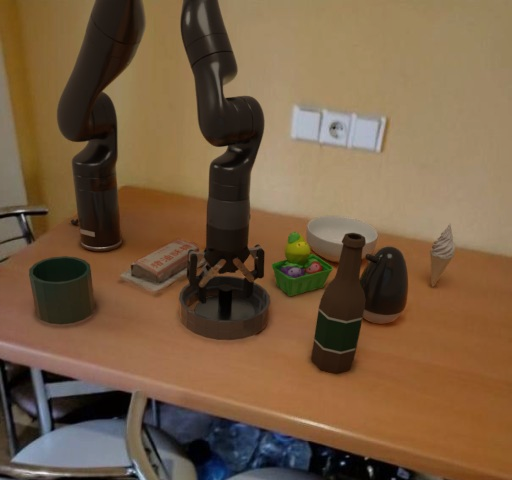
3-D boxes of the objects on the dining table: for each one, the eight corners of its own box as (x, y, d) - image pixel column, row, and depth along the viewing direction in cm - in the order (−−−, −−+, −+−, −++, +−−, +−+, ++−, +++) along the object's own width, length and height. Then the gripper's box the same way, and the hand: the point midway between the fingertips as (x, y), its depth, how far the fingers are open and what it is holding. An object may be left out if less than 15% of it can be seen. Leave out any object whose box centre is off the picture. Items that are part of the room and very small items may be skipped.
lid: (188, 302, 112) (188, 275, 108) (244, 297, 115) (246, 270, 112) (202, 335, 103) (202, 306, 99) (262, 327, 106) (264, 300, 103)
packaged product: (172, 232, 128) (207, 244, 124) (172, 252, 131) (207, 264, 127) (117, 261, 115) (155, 275, 111) (119, 281, 118) (156, 296, 114)
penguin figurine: (341, 307, 115) (353, 239, 107) (384, 300, 119) (399, 233, 110) (366, 334, 107) (382, 262, 99) (412, 326, 111) (430, 256, 102)
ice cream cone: (445, 284, 127) (464, 222, 118) (442, 294, 123) (460, 230, 114) (423, 278, 128) (440, 216, 120) (419, 288, 124) (435, 224, 116)
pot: (36, 300, 110) (29, 258, 105) (92, 295, 113) (88, 254, 108) (36, 329, 101) (28, 286, 96) (97, 323, 104) (92, 280, 99)
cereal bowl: (366, 278, 127) (372, 249, 123) (295, 263, 130) (298, 235, 126) (377, 249, 140) (383, 222, 136) (313, 236, 144) (316, 209, 140)
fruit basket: (288, 300, 116) (293, 251, 110) (265, 282, 122) (269, 233, 116) (331, 289, 121) (339, 241, 115) (307, 271, 127) (313, 225, 121)
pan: (172, 299, 113) (171, 279, 111) (253, 291, 118) (254, 272, 116) (189, 347, 100) (189, 326, 97) (280, 336, 105) (282, 315, 102)
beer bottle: (307, 348, 102) (325, 225, 89) (349, 348, 103) (373, 226, 90) (314, 374, 96) (334, 246, 82) (358, 375, 97) (386, 247, 83)
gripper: (260, 209, 103) (254, 286, 112) (183, 213, 99) (183, 293, 108) (273, 225, 97) (266, 305, 106) (192, 230, 93) (192, 313, 102)
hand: (224, 299), depth 107 cm, fingers open, 8 cm apart
